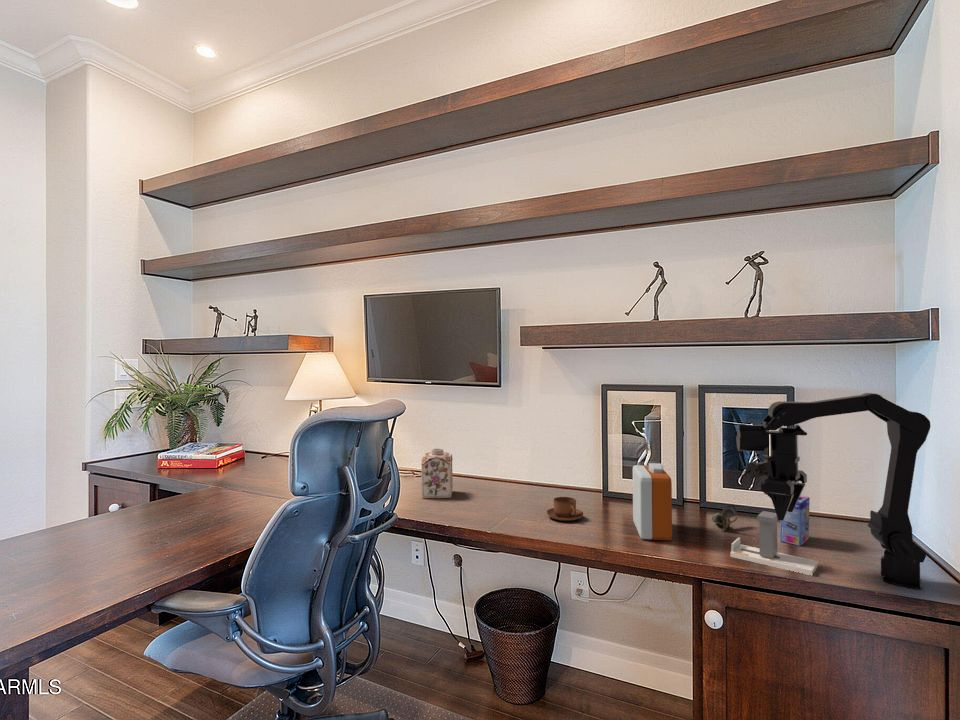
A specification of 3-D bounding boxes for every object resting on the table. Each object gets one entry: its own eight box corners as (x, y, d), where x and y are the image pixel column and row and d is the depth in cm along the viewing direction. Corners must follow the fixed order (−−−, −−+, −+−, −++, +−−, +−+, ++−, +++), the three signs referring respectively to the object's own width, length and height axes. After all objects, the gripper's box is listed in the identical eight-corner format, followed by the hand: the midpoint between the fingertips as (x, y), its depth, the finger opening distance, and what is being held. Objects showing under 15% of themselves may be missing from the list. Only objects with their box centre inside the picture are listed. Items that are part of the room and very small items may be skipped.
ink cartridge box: (802, 547, 137) (801, 494, 137) (779, 542, 141) (778, 491, 141) (810, 538, 144) (810, 488, 144) (788, 533, 148) (788, 485, 148)
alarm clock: (672, 542, 141) (672, 470, 141) (640, 540, 142) (639, 469, 142) (661, 522, 159) (660, 458, 159) (632, 521, 160) (632, 457, 161)
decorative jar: (453, 491, 201) (452, 446, 201) (451, 498, 189) (451, 451, 189) (423, 491, 201) (423, 446, 201) (420, 498, 189) (420, 451, 189)
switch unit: (817, 565, 123) (817, 553, 124) (812, 575, 118) (811, 562, 118) (739, 548, 136) (739, 536, 136) (730, 556, 130) (730, 544, 130)
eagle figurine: (746, 530, 147) (742, 515, 156) (730, 508, 148) (728, 495, 156) (720, 541, 150) (718, 526, 159) (705, 520, 151) (704, 506, 160)
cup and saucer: (590, 519, 163) (590, 500, 163) (566, 526, 156) (566, 506, 156) (563, 511, 173) (563, 493, 173) (539, 517, 165) (539, 498, 165)
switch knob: (779, 553, 128) (778, 513, 128) (774, 559, 124) (773, 518, 124) (763, 549, 131) (763, 510, 131) (758, 555, 126) (757, 515, 127)
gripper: (758, 445, 135) (759, 502, 135) (737, 453, 121) (738, 517, 121) (806, 449, 127) (808, 510, 127) (789, 459, 114) (790, 527, 113)
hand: (785, 515), depth 122 cm, fingers open, 9 cm apart
